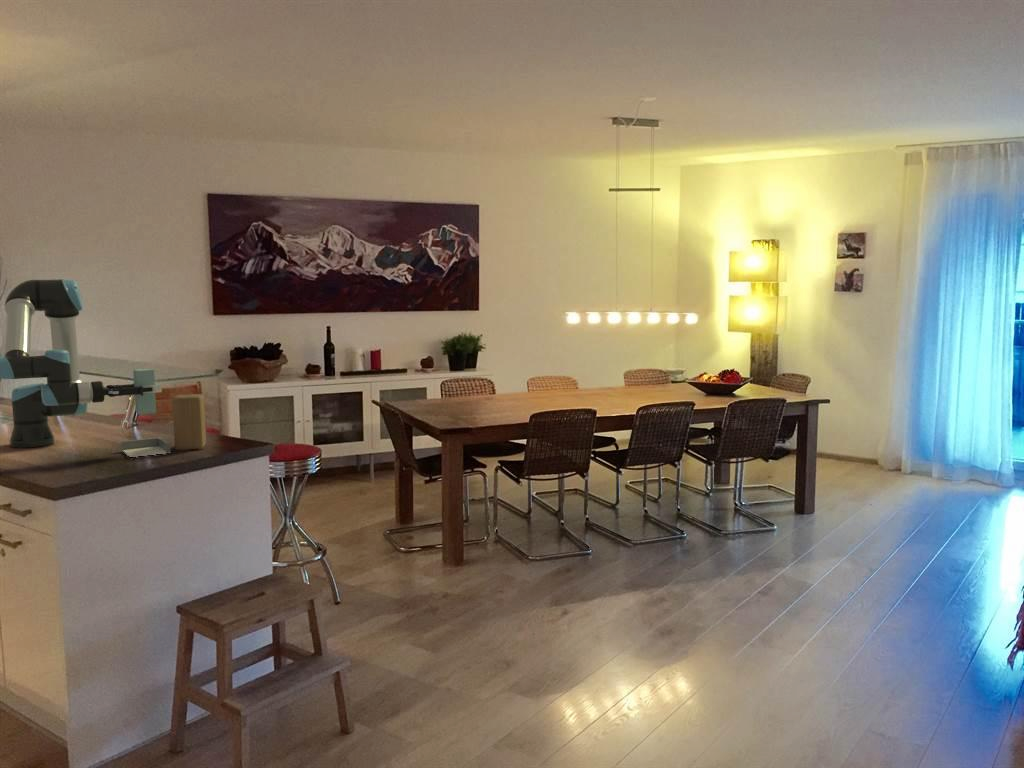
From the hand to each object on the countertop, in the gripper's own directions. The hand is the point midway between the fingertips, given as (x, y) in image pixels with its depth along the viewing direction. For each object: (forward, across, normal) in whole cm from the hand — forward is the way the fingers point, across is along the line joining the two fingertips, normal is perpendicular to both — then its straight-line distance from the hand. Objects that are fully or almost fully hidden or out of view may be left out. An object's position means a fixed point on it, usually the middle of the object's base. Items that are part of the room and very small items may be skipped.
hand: (159, 387), depth 317 cm
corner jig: (-6, +1, -24) cm, 25 cm away
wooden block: (+10, +1, -24) cm, 26 cm away
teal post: (-5, 0, -9) cm, 10 cm away
